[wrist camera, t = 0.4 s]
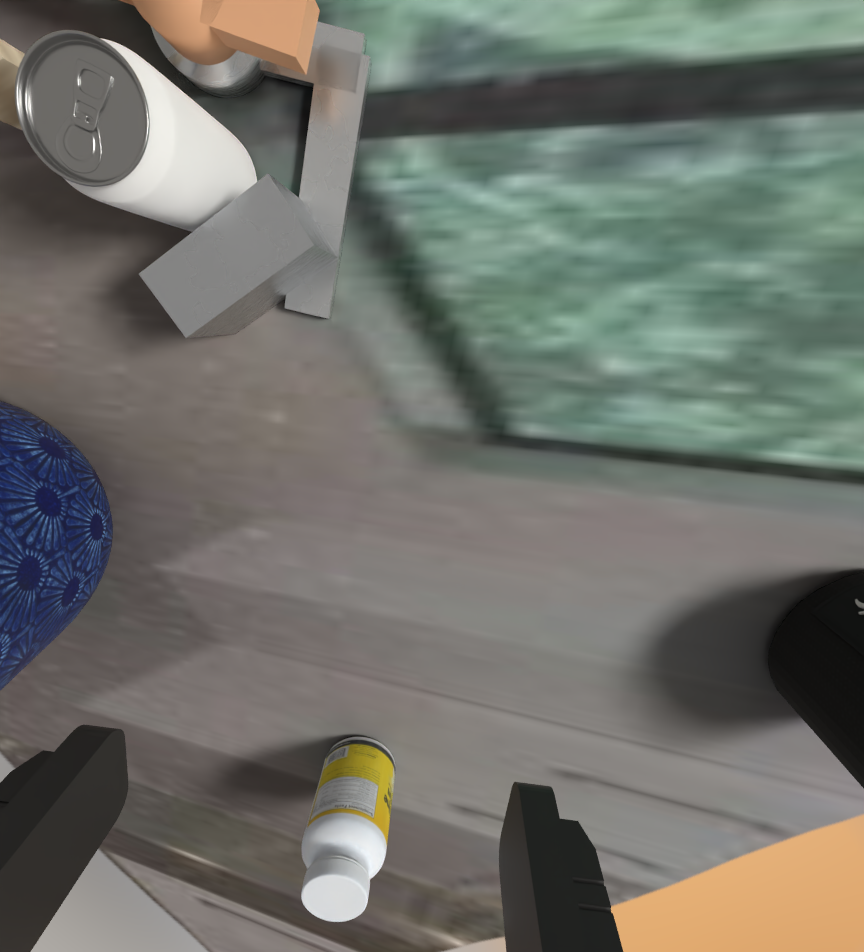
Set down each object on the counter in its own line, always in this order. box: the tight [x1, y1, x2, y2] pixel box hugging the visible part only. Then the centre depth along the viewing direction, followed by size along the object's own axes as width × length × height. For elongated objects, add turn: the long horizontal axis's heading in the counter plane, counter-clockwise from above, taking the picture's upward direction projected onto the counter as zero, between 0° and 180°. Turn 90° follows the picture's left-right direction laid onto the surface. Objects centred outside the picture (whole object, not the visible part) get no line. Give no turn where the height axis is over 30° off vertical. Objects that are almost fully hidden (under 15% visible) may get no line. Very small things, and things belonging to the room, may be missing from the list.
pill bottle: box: [301, 737, 395, 922], centre depth 41 cm, size 6×6×12 cm
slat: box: [0, 39, 25, 130], centre depth 28 cm, size 4×1×8 cm, turn 115°
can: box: [15, 30, 257, 232], centre depth 27 cm, size 6×6×12 cm
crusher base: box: [139, 22, 372, 338], centre depth 29 cm, size 20×15×7 cm
